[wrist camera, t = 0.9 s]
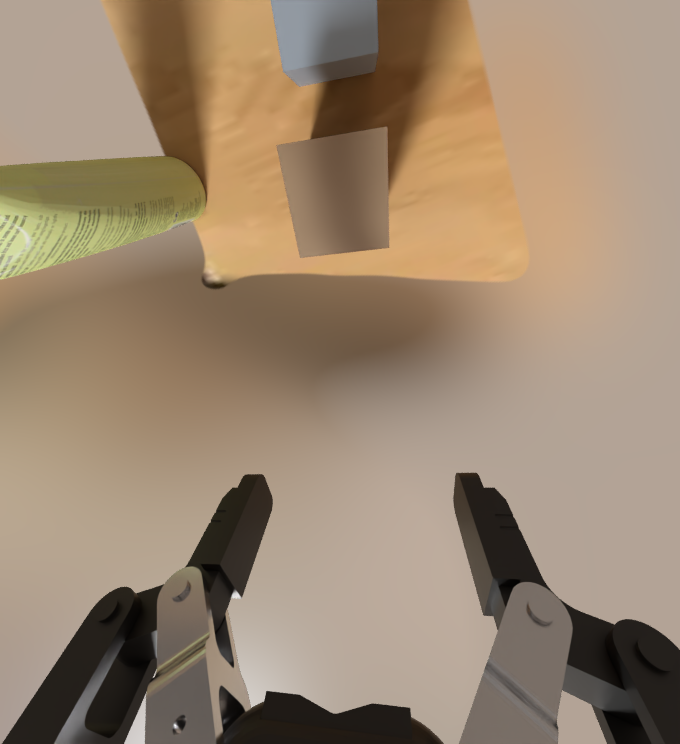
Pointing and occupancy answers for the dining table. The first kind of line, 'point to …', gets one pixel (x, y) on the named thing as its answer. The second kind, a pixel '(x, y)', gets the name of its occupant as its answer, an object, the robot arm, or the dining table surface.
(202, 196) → the tube
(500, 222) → the dining table surface
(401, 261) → the dining table surface
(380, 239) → the tower upper
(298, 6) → the slate block
